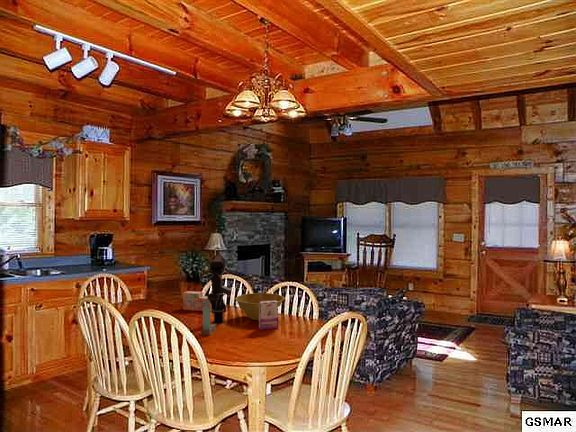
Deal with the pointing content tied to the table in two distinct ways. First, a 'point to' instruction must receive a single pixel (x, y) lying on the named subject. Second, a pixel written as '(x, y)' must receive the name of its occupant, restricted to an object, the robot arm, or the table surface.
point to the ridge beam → (209, 332)
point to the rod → (206, 318)
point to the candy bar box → (268, 315)
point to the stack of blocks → (195, 301)
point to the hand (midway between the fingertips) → (216, 307)
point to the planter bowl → (256, 302)
